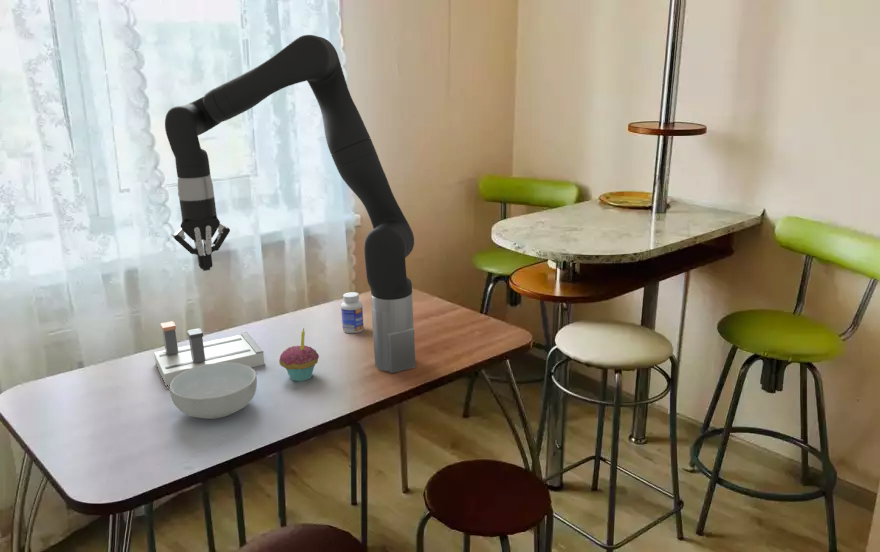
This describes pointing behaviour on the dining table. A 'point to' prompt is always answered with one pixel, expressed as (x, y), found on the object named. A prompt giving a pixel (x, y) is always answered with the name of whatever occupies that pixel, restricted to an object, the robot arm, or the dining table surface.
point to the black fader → (196, 345)
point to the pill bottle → (352, 313)
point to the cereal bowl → (213, 389)
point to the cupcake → (299, 361)
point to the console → (211, 355)
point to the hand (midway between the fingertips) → (206, 269)
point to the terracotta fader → (169, 337)
